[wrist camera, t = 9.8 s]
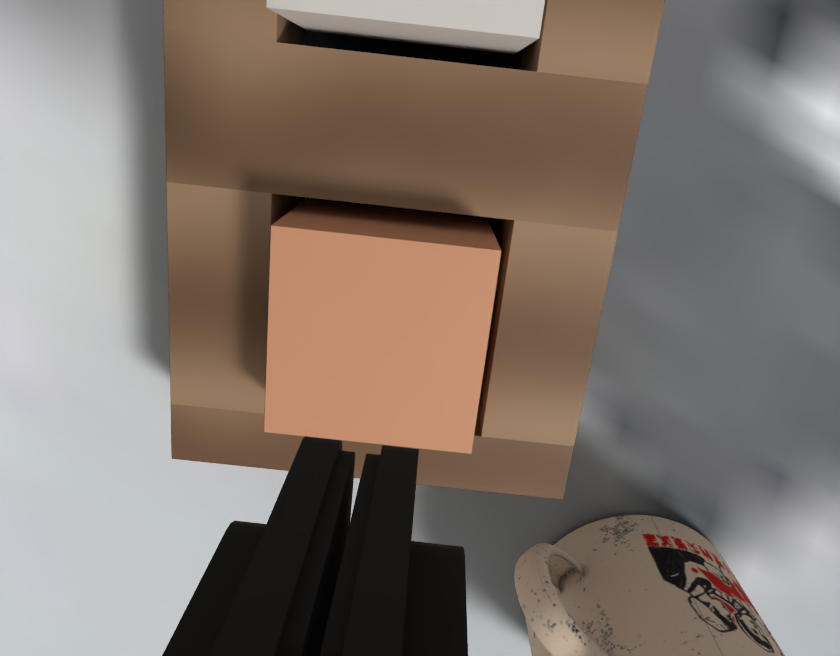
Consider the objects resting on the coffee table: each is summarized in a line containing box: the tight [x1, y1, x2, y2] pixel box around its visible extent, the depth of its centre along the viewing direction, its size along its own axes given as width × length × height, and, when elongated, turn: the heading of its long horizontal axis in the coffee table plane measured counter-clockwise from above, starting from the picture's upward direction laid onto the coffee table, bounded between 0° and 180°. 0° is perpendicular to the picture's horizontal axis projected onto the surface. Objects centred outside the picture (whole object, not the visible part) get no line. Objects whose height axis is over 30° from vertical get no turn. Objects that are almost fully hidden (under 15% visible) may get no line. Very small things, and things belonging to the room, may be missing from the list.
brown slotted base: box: [163, 0, 665, 499], centre depth 20 cm, size 22×13×4 cm, turn 174°
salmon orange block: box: [264, 199, 501, 454], centre depth 20 cm, size 6×6×5 cm
